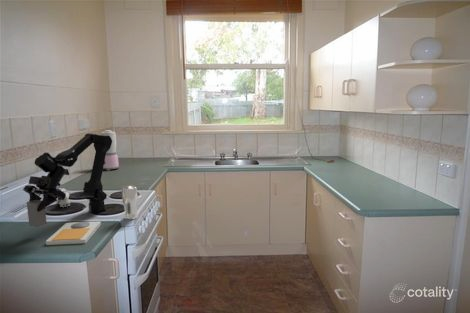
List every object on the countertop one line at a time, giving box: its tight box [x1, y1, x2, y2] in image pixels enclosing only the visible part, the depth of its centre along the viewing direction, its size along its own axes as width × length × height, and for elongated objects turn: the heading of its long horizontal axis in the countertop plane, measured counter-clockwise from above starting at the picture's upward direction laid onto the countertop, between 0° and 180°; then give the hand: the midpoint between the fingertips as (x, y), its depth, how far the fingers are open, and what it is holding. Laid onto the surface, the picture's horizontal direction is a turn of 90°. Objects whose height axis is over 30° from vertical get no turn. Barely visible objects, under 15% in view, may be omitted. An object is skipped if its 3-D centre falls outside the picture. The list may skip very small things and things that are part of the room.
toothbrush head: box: [58, 190, 71, 209], centre depth 185 cm, size 5×7×25 cm
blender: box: [100, 129, 120, 172], centre depth 269 cm, size 16×12×32 cm
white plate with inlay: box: [45, 221, 102, 246], centre depth 140 cm, size 20×15×2 cm
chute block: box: [26, 199, 48, 228], centre depth 138 cm, size 4×5×10 cm
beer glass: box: [121, 185, 138, 221], centre depth 159 cm, size 7×7×15 cm
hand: (33, 210), depth 136 cm, fingers closed on chute block, 5 cm apart
